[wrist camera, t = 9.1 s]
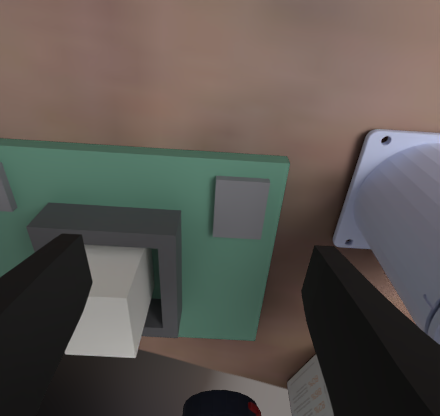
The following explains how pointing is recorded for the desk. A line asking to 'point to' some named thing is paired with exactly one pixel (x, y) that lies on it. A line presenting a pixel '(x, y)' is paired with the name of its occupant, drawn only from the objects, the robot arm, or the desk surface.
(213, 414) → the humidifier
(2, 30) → the desk surface
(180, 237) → the board
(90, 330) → the plug block
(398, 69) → the desk surface
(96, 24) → the desk surface
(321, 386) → the small box
